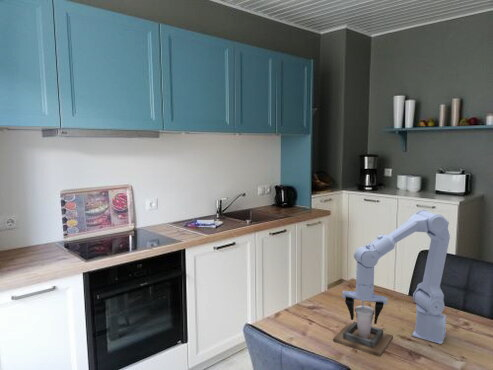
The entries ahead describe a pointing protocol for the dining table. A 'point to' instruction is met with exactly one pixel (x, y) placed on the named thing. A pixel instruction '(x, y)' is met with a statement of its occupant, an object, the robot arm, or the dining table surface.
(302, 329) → the dining table surface
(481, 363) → the dining table surface
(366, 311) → the smoothie
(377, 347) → the bottle stand
